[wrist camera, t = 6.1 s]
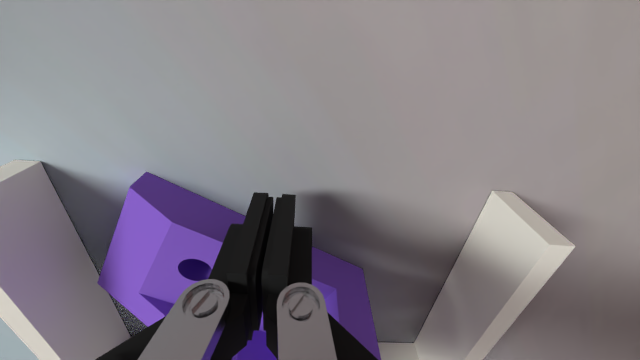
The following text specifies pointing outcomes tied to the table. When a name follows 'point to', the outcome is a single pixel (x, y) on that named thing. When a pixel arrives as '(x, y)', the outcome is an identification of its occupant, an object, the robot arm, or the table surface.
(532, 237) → the white u-shaped fence
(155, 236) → the bracket
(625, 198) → the table surface
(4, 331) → the table surface
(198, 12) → the table surface
